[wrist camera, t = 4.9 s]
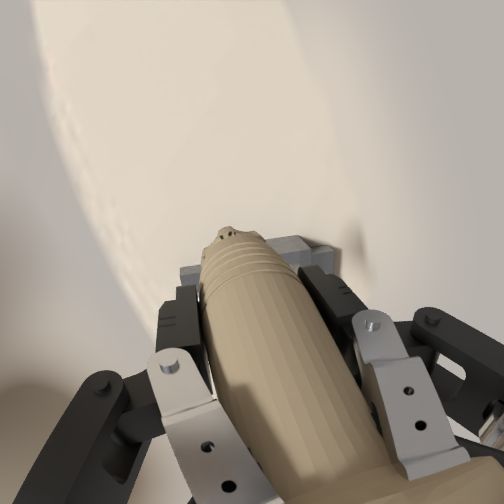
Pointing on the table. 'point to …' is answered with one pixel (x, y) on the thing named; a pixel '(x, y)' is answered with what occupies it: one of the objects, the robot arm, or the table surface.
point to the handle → (305, 390)
